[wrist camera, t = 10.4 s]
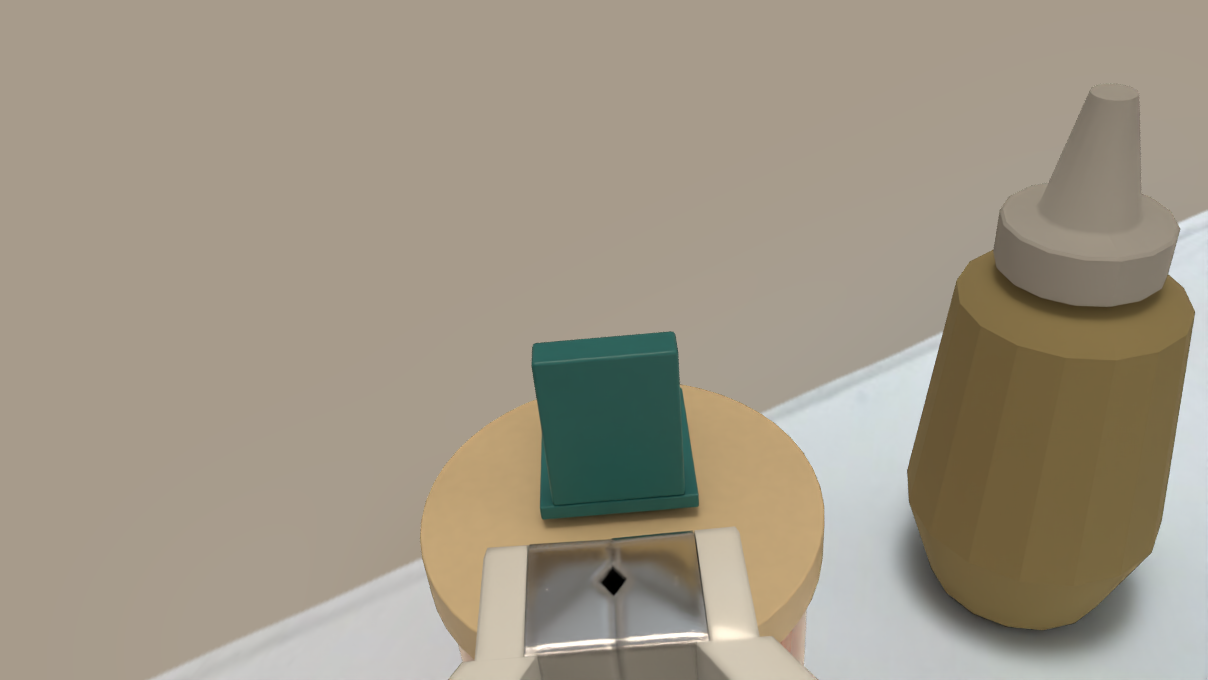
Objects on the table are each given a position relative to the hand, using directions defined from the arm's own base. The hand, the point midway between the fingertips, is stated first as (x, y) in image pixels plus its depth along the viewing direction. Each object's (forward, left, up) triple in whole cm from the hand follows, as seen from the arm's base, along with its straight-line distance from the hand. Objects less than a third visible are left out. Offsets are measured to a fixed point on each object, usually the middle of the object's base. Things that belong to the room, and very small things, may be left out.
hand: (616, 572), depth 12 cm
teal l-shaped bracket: (+6, -8, -7) cm, 13 cm away
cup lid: (+5, -7, -9) cm, 13 cm away
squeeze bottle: (-2, -21, -20) cm, 29 cm away
